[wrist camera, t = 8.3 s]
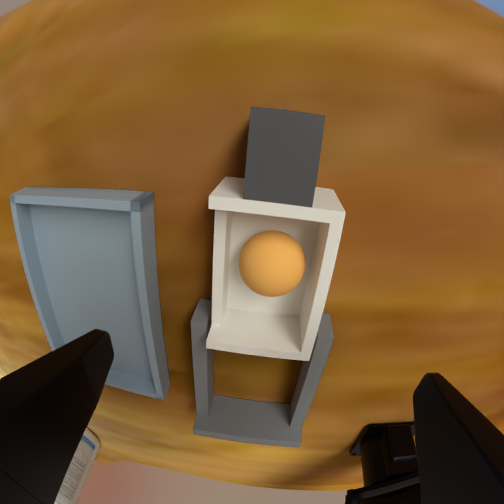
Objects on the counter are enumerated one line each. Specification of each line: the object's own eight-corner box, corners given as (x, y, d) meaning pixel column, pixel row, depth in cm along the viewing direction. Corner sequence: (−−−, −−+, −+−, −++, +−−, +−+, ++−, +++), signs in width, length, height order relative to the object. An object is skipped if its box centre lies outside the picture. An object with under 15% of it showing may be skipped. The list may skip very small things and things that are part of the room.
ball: (297, 292, 18) (306, 305, 15) (237, 288, 18) (234, 300, 15) (302, 233, 18) (314, 233, 15) (242, 228, 18) (240, 226, 15)
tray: (170, 383, 26) (164, 400, 24) (68, 355, 26) (59, 368, 24) (153, 192, 18) (139, 201, 16) (26, 186, 18) (9, 194, 17)
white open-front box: (306, 319, 21) (309, 361, 17) (219, 308, 21) (206, 348, 17) (343, 119, 15) (360, 121, 11) (230, 105, 15) (214, 104, 12)
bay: (299, 411, 25) (299, 447, 22) (203, 399, 26) (193, 434, 22) (330, 313, 20) (336, 355, 17) (200, 298, 21) (184, 336, 17)
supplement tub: (39, 399, 33) (-5, 473, 20) (92, 422, 32) (51, 509, 19) (60, 432, 37) (26, 498, 24) (108, 453, 37) (78, 526, 24)
